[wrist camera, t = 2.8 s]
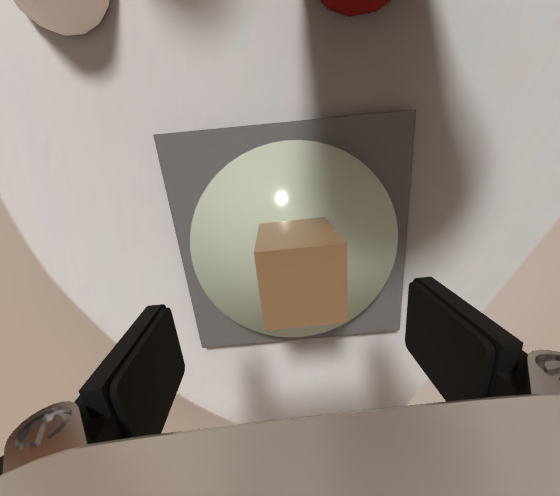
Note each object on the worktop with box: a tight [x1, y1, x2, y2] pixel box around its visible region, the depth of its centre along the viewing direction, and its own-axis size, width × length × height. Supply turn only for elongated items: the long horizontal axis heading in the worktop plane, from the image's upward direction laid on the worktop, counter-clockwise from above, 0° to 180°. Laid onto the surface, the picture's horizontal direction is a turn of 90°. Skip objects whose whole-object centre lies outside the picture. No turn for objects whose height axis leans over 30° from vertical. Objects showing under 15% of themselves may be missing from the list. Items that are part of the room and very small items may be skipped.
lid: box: [190, 140, 398, 337], centre depth 15 cm, size 13×13×6 cm
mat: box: [153, 110, 416, 348], centre depth 18 cm, size 15×15×1 cm
